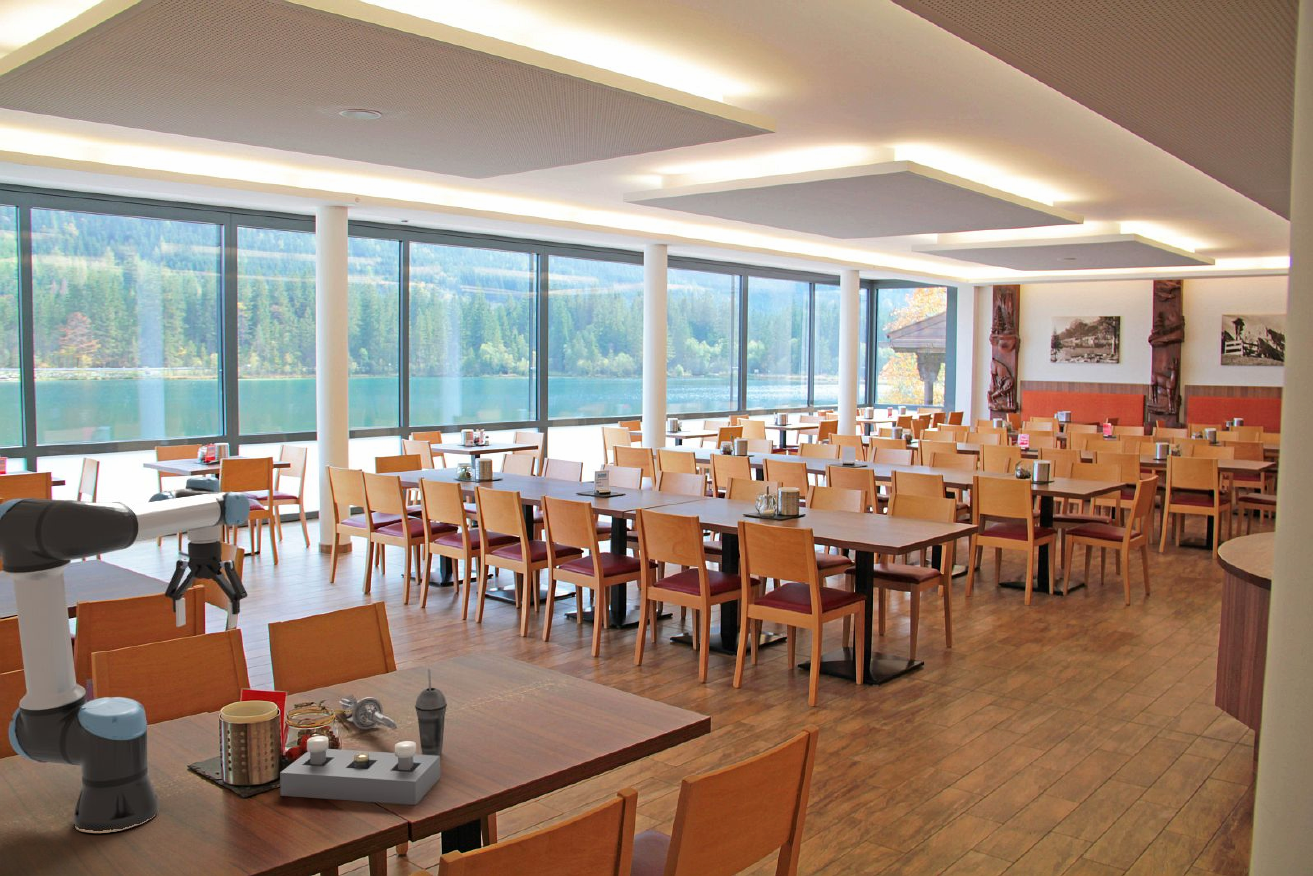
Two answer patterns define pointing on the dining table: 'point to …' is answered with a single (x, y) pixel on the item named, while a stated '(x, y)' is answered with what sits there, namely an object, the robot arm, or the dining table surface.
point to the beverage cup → (431, 719)
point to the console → (361, 778)
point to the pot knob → (361, 761)
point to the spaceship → (366, 712)
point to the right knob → (405, 754)
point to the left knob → (317, 749)
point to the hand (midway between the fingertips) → (206, 626)
